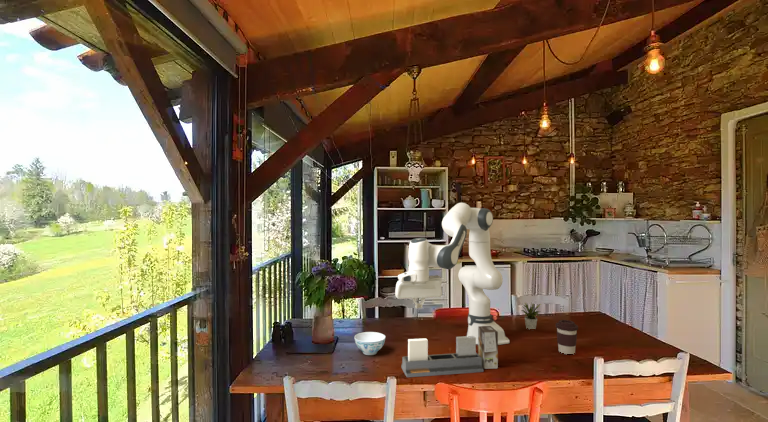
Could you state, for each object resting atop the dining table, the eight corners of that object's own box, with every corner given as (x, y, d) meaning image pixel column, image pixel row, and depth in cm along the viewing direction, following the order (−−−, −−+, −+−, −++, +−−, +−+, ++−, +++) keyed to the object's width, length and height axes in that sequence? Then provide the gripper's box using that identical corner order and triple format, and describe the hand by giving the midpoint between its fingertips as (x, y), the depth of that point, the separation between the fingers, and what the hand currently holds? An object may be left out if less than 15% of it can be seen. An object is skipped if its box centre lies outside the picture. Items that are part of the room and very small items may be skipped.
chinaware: (386, 358, 176) (386, 341, 176) (354, 359, 175) (354, 342, 175) (384, 346, 191) (384, 331, 191) (354, 347, 190) (354, 332, 190)
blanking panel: (409, 369, 160) (409, 341, 160) (407, 367, 162) (408, 339, 162) (427, 368, 161) (427, 340, 161) (425, 366, 164) (426, 338, 164)
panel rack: (473, 362, 171) (474, 332, 171) (483, 371, 161) (483, 340, 161) (401, 367, 165) (401, 336, 166) (406, 377, 156) (406, 344, 156)
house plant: (513, 329, 222) (513, 301, 222) (518, 323, 233) (518, 297, 233) (539, 333, 214) (539, 304, 214) (543, 327, 226) (543, 299, 226)
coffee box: (498, 368, 165) (498, 331, 165) (484, 369, 164) (484, 332, 164) (490, 360, 174) (490, 325, 174) (477, 361, 173) (477, 325, 174)
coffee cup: (576, 350, 188) (576, 320, 188) (579, 357, 178) (579, 325, 179) (554, 347, 191) (554, 318, 191) (556, 354, 182) (556, 323, 182)
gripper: (439, 274, 168) (439, 305, 168) (394, 275, 164) (394, 307, 164) (444, 276, 161) (444, 308, 161) (397, 277, 158) (397, 311, 158)
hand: (418, 308), depth 163 cm, fingers closed
